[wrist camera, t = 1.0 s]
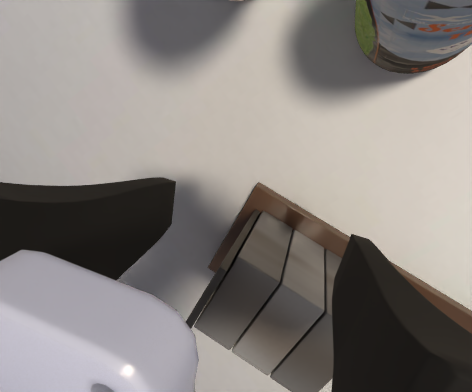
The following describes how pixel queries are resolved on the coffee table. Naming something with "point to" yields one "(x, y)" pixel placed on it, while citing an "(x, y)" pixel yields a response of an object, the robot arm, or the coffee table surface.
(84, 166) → the coffee table surface
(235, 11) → the coffee table surface
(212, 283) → the walnut book board
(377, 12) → the beverage can
